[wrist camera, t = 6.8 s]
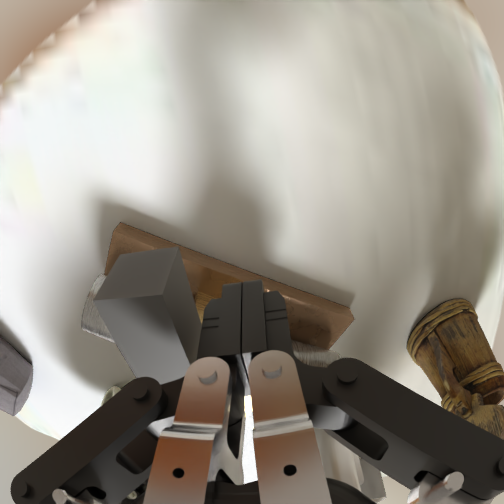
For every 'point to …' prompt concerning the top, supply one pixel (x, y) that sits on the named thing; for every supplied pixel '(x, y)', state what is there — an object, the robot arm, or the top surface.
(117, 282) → the valve lever
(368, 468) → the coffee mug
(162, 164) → the top surface
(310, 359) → the stand
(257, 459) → the robot arm
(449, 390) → the wooden mug
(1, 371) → the small grey backpack
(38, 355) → the top surface
